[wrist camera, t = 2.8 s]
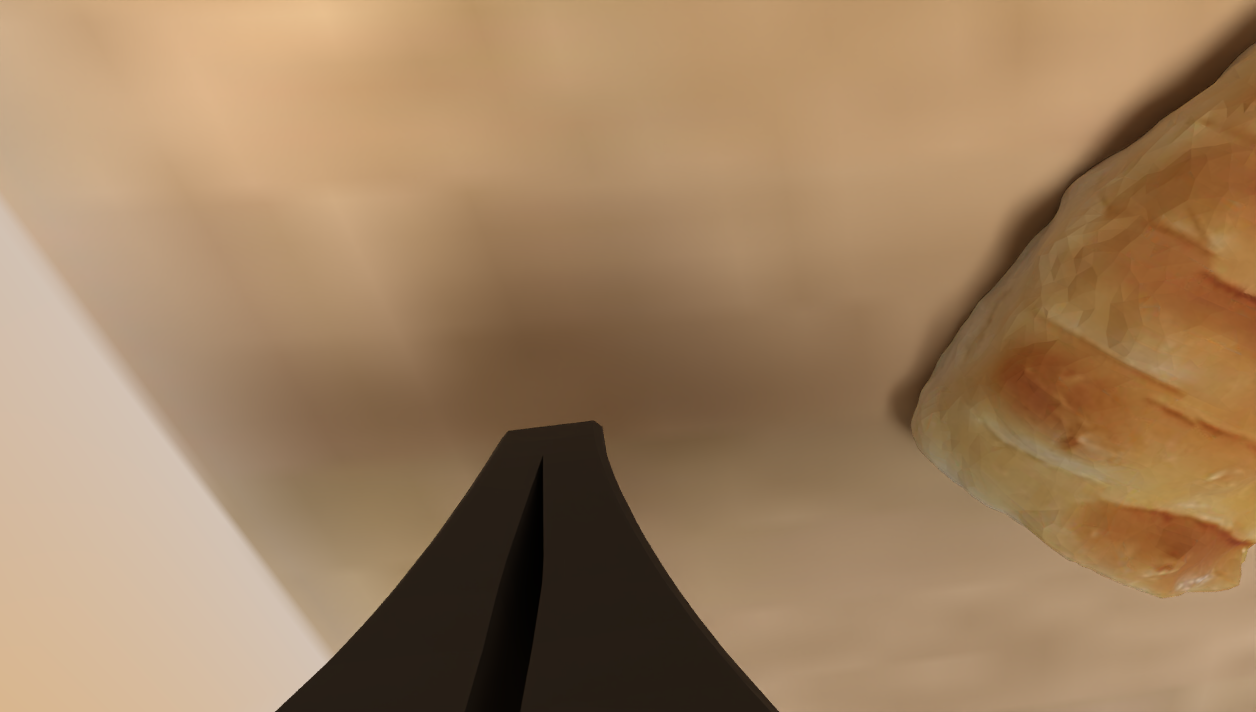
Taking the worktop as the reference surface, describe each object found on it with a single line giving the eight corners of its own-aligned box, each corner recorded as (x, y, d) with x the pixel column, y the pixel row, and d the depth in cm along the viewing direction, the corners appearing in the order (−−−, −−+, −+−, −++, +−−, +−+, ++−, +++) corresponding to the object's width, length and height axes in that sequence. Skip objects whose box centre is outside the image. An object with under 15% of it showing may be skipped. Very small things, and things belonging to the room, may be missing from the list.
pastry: (1219, -116, 9) (1571, -165, 6) (1539, 74, 11) (1963, 120, 8) (866, 425, 13) (959, 575, 10) (1133, 509, 15) (1291, 663, 12)
